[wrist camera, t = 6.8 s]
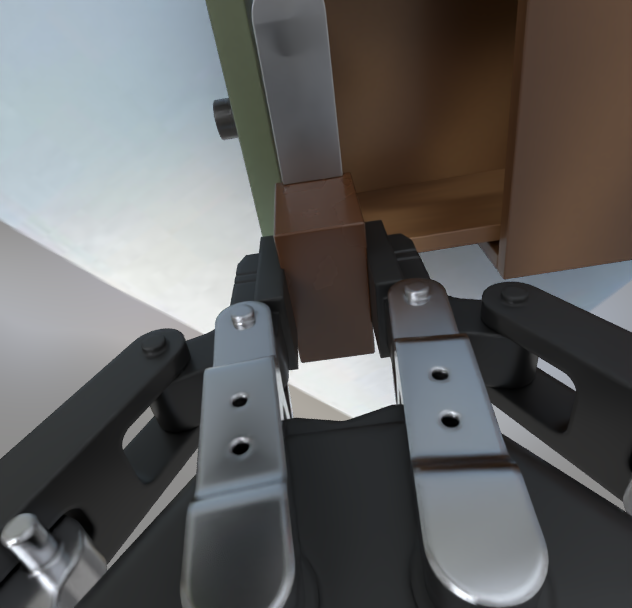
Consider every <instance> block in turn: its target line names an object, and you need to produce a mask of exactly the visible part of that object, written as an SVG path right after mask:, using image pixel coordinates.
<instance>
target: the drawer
mask: <svg viewBox="0 0 632 608" xmlns="http://www.w3.org/2000/svg"><path fill="white" fill-rule="evenodd" d="M205 1H206V5H207V9H208V13H209V17H210V21H211V26H212V30H213V34H214V38H215V42H216V46H217V50H218V55H219V59H220V63H221V67H222V71H223V75H224V79H225V83H226V88H227V92H228V96H229V98H225V99H219V100H215V101H214V102H213V110H214V117H215V122H216V126H217V129H218V132H219V135H220V137H221V138H222V139H223V140H227V139H233V138H238V137H239V141H240V145H241V150H242V154H243V158H244V162H245V166H246V170H247V174H248V178H249V183H250V187H251V191H252V195H253V199H254V203H255V207H256V212H257V216H258V220H259V224H260V228H261V232H262V236H263V237H264V236H271V235H274V201H275V184H276V183H280V182H282V176H281V171H280V166H279V161H278V155H277V150H276V145H275V139H274V134H273V129H272V124H271V118H270V113H269V108H268V103H267V97H266V92H265V87H264V82H263V76H262V71H261V66H260V60H259V55H258V50H257V45H256V39H255V34H254V29H253V23H252V12H251V11H252V3H253V0H205ZM324 3H325V8H326V16H327V25H328V35H329V45H330V55H331V64H332V74H333V84H334V94H335V103H336V113H337V123H338V133H339V142H340V152H341V162H342V172H343V173H347V172H350V173H351V175H352V179H353V182H354V186H355V189H356V193H357V197H358V200H359V204H360V207H361V211H362V214H363V218H364V221H365V222H368V221H375V220H382V222H383V225H384V227H385V230H386V232H387V235H390V234H397V233H402V234H403V235H405V236H407V237H408V238H410V239H411V240H412V241H413V243H414V245H415V247H416V251H417V252H418V253H421V252H427V251H433V250H440V249H446V248H452V247H458V246H465V245H471V244H477V243H484V242H490V241H496V240H500V229H501V216H502V203H503V190H504V177H505V164H506V151H507V139H508V126H509V113H510V100H511V87H512V74H513V61H514V48H515V35H516V22H517V9H518V0H324Z"/></svg>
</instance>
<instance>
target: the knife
mask: <svg viewBox="0 0 632 608" xmlns="http://www.w3.org/2000/svg"><path fill="white" fill-rule="evenodd" d="M251 12H252V23H253V29H254V34H255V39H256V45H257V50H258V55H259V60H260V66H261V71H262V76H263V82H264V87H265V92H266V97H267V103H268V108H269V113H270V118H271V124H272V129H273V134H274V139H275V145H276V150H277V155H278V161H279V166H280V171H281V176H282V182H280V183H276V184H275V201H274V236H273V237H274V242H275V246H276V251H277V255H278V260H279V264H280V268H281V269H284V272H285V277H286V282H287V286H288V291H289V296H290V300H291V305H292V310H293V314H294V319H295V324H296V328H297V333H298V350H299V355H300V360H301V362H302V363H305V362H313V361H320V360H328V359H335V358H342V357H350V356H357V355H365V354H372V353H374V352H375V347H374V334H373V324H372V315H371V302H370V289H369V276H368V262H367V242H366V229H365V221H364V218H363V214H362V211H361V207H360V204H359V200H358V197H357V193H356V189H355V186H354V182H353V179H352V175H351V173H350V172H347V173H343V172H342V162H341V152H340V142H339V133H338V123H337V113H336V103H335V94H334V84H333V74H332V64H331V55H330V45H329V35H328V25H327V16H326V8H325V3H324V0H253V3H252V11H251Z"/></svg>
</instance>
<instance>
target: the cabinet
mask: <svg viewBox="0 0 632 608" xmlns="http://www.w3.org/2000/svg"><path fill="white" fill-rule="evenodd" d="M478 245H479V246H480V247H481V249H482V250H483V252H484V253H485V254H486V256H487V257H488V258H489V260H490V261H491V262H492V264H493V265H494V267H495V268H496V269H497V271H498V272H499V274H500V275H501V276H502V278H503V279H511V278H517V277H524V276H530V275H537V274H543V273H550V272H556V271H563V270H569V269H576V268H582V267H589V266H595V265H602V264H608V263H614V262H621V261H627V260H632V0H518V9H517V22H516V35H515V48H514V61H513V74H512V87H511V100H510V113H509V126H508V139H507V151H506V164H505V177H504V190H503V203H502V216H501V229H500V240H496V241H490V242H484V243H478Z"/></svg>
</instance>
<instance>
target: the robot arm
mask: <svg viewBox="0 0 632 608" xmlns="http://www.w3.org/2000/svg"><path fill="white" fill-rule="evenodd" d="M365 229H366V242H367V262H368V276H369V289H370V302H371V315H372V324H373V329H374V333H375V337H376V341H377V345H378V349H379V353H380V357H381V358H385V357H390V358H391V361H392V373H393V384H394V393H395V402H396V405H390V406H387V407H384V408H381V409H379V410H376V411H373V412H370V413H367V414H364V415H361V416H358V417H355V418H352V419H350V420H346V421H331V420H318V419H305V418H293V412H292V405H291V398H290V391H289V387H288V379H289V370H295V369H298V333H297V328H296V324H295V319H294V314H293V310H292V305H291V300H290V296H289V291H288V286H287V282H286V277H285V272H284V269H281V268H280V264H279V260H278V255H277V251H276V246H275V242H274V237H273V236H274V235H271V236H264V237H261V241H260V249H259V253H258V254H251V255H246V256H245V257H244V258H243V259H242V260H241V262H240V263H239V264H238V266H237V271H236V277H235V284H234V288H233V293H232V298H231V304H230V306H229V307H227V308H226V309H224V310H223V311H222V312H221V313H220V314H219V315H218V316H217V318H216V322H215V329H214V330H213V331H211V332H209V333H207V334H204V335H202V336H199V337H196V338H193V339H190V340H187V341H186V340H185V338H184V335H183V334H182V333H181V332H179V331H178V330H175V329H159V330H155V331H151V332H149V333H147V334H144V335H142V336H141V337H139V338H138V339H136V340H135V341H134V342H133V343H131V344H130V345H129V346H128V347H127V348H126V349H125V350H123V351H122V352H121V353H120V354H119V355H118V356H117V357H116V358H115V359H113V360H112V361H111V362H110V363H109V364H108V365H107V366H105V367H104V368H103V369H102V370H101V371H100V372H99V373H97V374H96V375H95V376H94V377H93V378H92V379H91V380H90V381H88V382H87V383H86V384H85V385H84V386H83V387H82V388H80V389H79V390H78V391H77V392H76V393H75V394H74V395H73V396H71V397H70V398H69V399H68V400H67V401H66V402H65V403H63V404H62V405H61V406H60V407H59V408H58V409H57V410H55V411H54V412H53V413H52V414H51V415H50V416H49V417H48V418H46V419H45V420H44V421H43V422H42V423H41V424H40V425H39V426H37V427H36V428H35V429H34V430H33V431H32V432H31V433H29V434H28V435H27V436H26V437H25V438H24V439H23V440H21V441H20V442H19V443H18V444H17V445H16V446H15V447H14V448H12V449H11V450H10V451H9V452H8V453H7V454H6V455H4V456H3V457H2V458H1V459H0V608H632V332H630V331H627V330H625V329H623V328H621V327H619V326H617V325H615V324H613V323H611V322H608V321H606V320H604V319H602V318H600V317H598V316H596V315H594V314H591V313H589V312H587V311H585V310H583V309H581V308H579V307H577V306H575V305H572V304H570V303H568V302H566V301H564V300H562V299H560V298H558V297H556V296H553V295H551V294H549V293H547V292H545V291H543V290H541V289H539V288H536V287H534V286H532V285H529V284H525V283H520V282H502V283H497V284H494V285H491V286H490V287H488V288H487V289H486V290H485V291H484V292H483V295H482V300H474V299H460V298H455V297H451V296H448V295H447V293H446V290H445V288H444V287H443V285H441V284H440V283H438V282H437V281H434V280H431V279H430V277H429V275H428V272H427V270H426V268H425V266H424V264H423V262H422V260H421V258H420V256H419V254H418V252H417V251H416V247H415V245H414V243H413V241H412V240H411V239H410V238H408V237H407V236H405V235H403V234H402V233H397V234H390V235H387V232H386V230H385V227H384V225H383V222H382V220H375V221H368V222H365ZM538 357H540V358H541V359H543V360H544V361H546V362H548V363H549V364H551V365H553V366H554V367H556V368H558V369H559V370H561V371H563V372H564V373H565V374H567V375H568V376H569V377H570V378H571V380H572V381H573V383H574V385H575V388H576V391H574V390H573V389H571V388H570V387H568V386H566V385H565V384H563V383H562V382H560V381H558V380H557V379H555V378H553V377H552V376H550V375H549V374H547V373H545V372H544V371H542V370H541V369H539V368H537V362H538ZM491 403H492V404H493V405H495V406H496V407H497V408H499V409H500V410H502V411H503V412H504V413H505V414H507V415H508V416H509V417H511V418H512V419H514V420H515V421H516V422H517V423H519V424H520V425H522V426H523V427H524V428H526V429H527V430H528V431H529V432H531V433H532V434H533V435H535V436H536V437H537V438H539V439H540V440H542V441H543V442H544V443H545V444H547V445H548V446H549V447H551V448H552V449H553V450H555V451H556V452H558V453H559V454H560V455H562V456H563V457H564V458H565V459H567V460H568V461H569V462H571V463H572V464H573V465H575V466H576V467H577V468H579V469H580V470H582V471H583V472H584V473H586V474H587V475H588V476H589V477H591V478H592V479H593V480H595V481H596V482H597V483H599V484H600V485H601V486H603V487H604V488H605V489H607V490H608V491H609V492H611V493H612V494H613V495H615V496H616V497H617V498H619V499H620V500H621V501H623V503H624V507H625V510H626V512H625V511H623V510H622V509H620V508H619V507H617V506H616V505H614V504H612V503H611V502H609V501H608V500H606V499H605V498H603V497H601V496H600V495H598V494H597V493H595V492H593V491H592V490H590V489H589V488H587V487H585V486H584V485H583V484H581V483H579V482H578V481H576V480H575V479H573V478H571V477H570V476H568V475H567V474H565V473H564V472H562V471H560V470H559V469H557V468H556V467H554V466H552V465H551V464H549V463H548V462H546V461H545V460H543V459H541V458H540V457H538V456H536V455H535V454H533V453H532V452H530V451H529V450H527V449H526V448H524V447H522V446H521V445H519V444H518V443H516V442H514V441H513V440H511V439H510V438H508V437H507V436H505V435H503V434H502V433H501V431H500V428H499V425H498V422H497V419H496V416H495V413H494V410H493V407H492V404H491ZM149 406H150V407H151V409H152V412H153V414H154V417H153V418H152V419H151V420H150V421H149V422H148V424H147V425H146V426H145V427H144V428H143V429H142V430H141V431H140V432H139V433H138V434H137V435H136V437H135V438H134V439H133V440H132V441H131V442H130V443H129V444H128V445H127V446H126V448H125V449H124V450H123V449H122V441H123V437H124V435H125V433H126V431H127V429H128V428H129V427H130V426H131V425H132V424H133V423H134V422H135V421H136V420H137V419H138V418H139V416H140V415H141V414H142V413H143V412H144V411H145V410H146V409H147V408H148V407H149ZM197 448H198V458H197V472H196V475H195V476H194V477H193V478H192V479H191V480H190V481H189V482H188V484H187V485H186V486H185V487H184V488H183V489H182V490H181V491H180V492H179V493H178V495H177V496H176V497H175V498H174V499H173V500H172V501H171V502H170V503H169V504H168V505H167V506H166V508H165V509H164V510H163V511H162V512H161V513H160V514H159V515H158V516H157V517H156V518H155V519H154V521H153V522H152V523H151V524H150V525H149V526H148V527H147V528H146V529H145V530H144V531H143V533H142V534H141V535H140V536H139V537H138V538H137V539H136V540H135V541H134V542H133V543H132V544H131V546H130V547H129V548H128V549H127V550H126V551H125V552H124V553H123V554H122V555H121V556H120V558H119V559H118V560H117V561H116V562H115V563H114V564H113V565H112V566H111V567H110V568H109V569H108V570H107V564H108V563H109V562H110V560H111V559H112V558H113V557H114V555H115V554H116V552H117V551H118V550H119V549H120V548H121V546H122V544H124V542H125V541H126V540H127V538H128V537H129V536H130V535H131V533H132V532H133V531H134V529H135V528H136V527H137V525H138V524H139V523H140V522H141V520H142V519H143V518H144V516H145V515H146V514H147V512H148V511H149V510H150V509H151V507H152V506H153V505H154V503H155V502H156V501H157V500H158V498H159V497H160V496H161V494H162V493H163V492H164V490H165V489H166V488H167V487H168V485H169V484H170V483H171V482H172V480H173V479H174V477H175V476H176V475H177V474H178V472H179V471H180V470H181V469H182V467H183V466H184V465H185V463H186V462H187V461H188V460H189V458H190V457H191V456H192V454H193V453H194V452H195V451H196V449H197Z"/></svg>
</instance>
